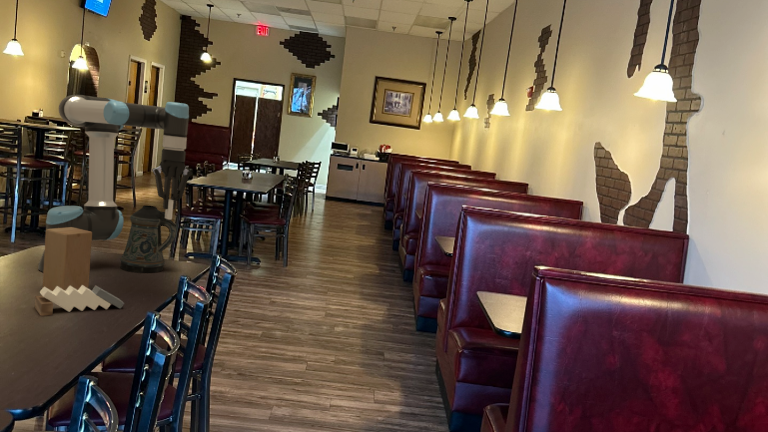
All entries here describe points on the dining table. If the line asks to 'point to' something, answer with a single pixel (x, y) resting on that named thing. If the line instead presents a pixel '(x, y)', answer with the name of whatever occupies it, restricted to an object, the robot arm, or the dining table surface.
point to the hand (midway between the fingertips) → (168, 218)
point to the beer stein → (147, 241)
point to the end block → (43, 306)
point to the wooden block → (67, 258)
